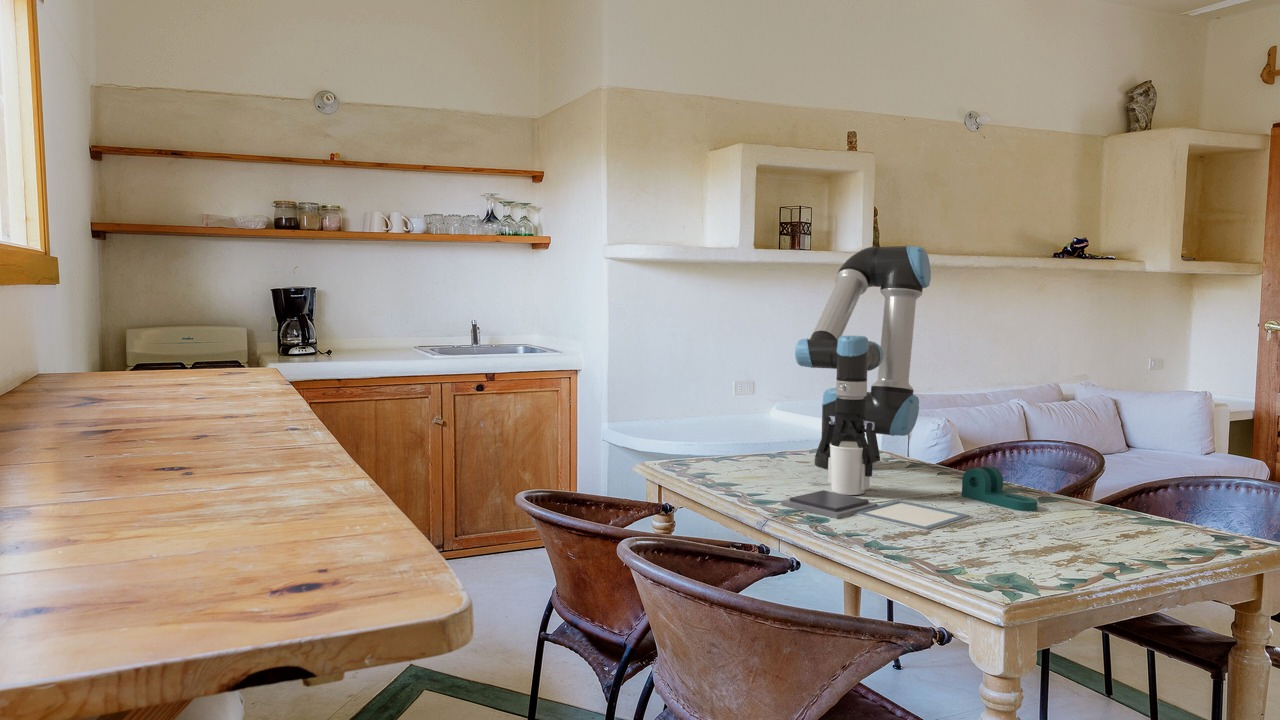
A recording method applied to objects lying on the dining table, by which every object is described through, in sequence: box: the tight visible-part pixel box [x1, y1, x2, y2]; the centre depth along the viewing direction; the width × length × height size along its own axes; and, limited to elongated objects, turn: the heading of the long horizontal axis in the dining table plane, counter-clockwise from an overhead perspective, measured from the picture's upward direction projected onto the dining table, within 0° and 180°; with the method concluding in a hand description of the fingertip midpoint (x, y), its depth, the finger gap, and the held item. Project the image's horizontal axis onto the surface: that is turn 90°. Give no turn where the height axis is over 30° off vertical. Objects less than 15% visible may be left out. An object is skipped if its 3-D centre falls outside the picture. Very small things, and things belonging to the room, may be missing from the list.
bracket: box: [961, 465, 1038, 512], centre depth 216 cm, size 18×7×8 cm, turn 31°
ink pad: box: [780, 490, 878, 519], centre depth 209 cm, size 16×16×2 cm
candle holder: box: [830, 441, 866, 496], centre depth 224 cm, size 10×10×12 cm
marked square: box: [853, 499, 973, 532], centre depth 202 cm, size 19×19×1 cm
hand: (848, 485), depth 224 cm, fingers closed on candle holder, 9 cm apart
